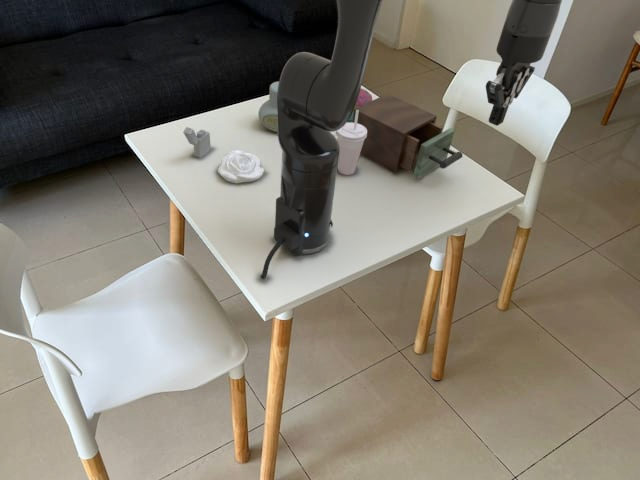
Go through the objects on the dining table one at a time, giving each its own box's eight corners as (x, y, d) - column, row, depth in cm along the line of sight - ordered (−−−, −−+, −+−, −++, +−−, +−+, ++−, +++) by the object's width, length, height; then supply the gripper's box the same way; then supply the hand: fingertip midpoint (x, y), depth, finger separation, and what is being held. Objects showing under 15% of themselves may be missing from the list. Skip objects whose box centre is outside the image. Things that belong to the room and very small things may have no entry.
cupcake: (374, 123, 130) (382, 76, 121) (341, 126, 128) (347, 78, 120) (362, 107, 136) (369, 60, 127) (331, 109, 134) (336, 63, 126)
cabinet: (427, 154, 120) (437, 115, 113) (395, 173, 114) (404, 133, 107) (380, 131, 127) (387, 93, 120) (348, 147, 121) (353, 108, 114)
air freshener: (254, 130, 125) (253, 90, 119) (265, 114, 131) (265, 75, 124) (298, 138, 123) (300, 98, 116) (307, 122, 129) (310, 82, 122)
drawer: (462, 170, 114) (472, 138, 109) (434, 188, 109) (443, 155, 104) (400, 139, 123) (407, 108, 117) (371, 154, 118) (377, 122, 112)
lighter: (204, 147, 119) (202, 115, 114) (211, 149, 119) (208, 117, 113) (186, 162, 115) (182, 129, 109) (192, 164, 114) (189, 131, 109)
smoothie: (359, 180, 112) (369, 119, 102) (329, 176, 113) (336, 115, 103) (362, 164, 116) (372, 104, 107) (333, 160, 117) (340, 100, 107)
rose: (235, 137, 114) (273, 150, 111) (236, 154, 117) (273, 168, 114) (207, 157, 108) (246, 172, 105) (208, 175, 111) (246, 191, 108)
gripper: (527, 11, 91) (495, 104, 103) (486, 29, 85) (457, 126, 97) (568, 23, 87) (531, 119, 100) (529, 43, 81) (494, 143, 93)
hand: (495, 122), depth 98 cm, fingers closed
